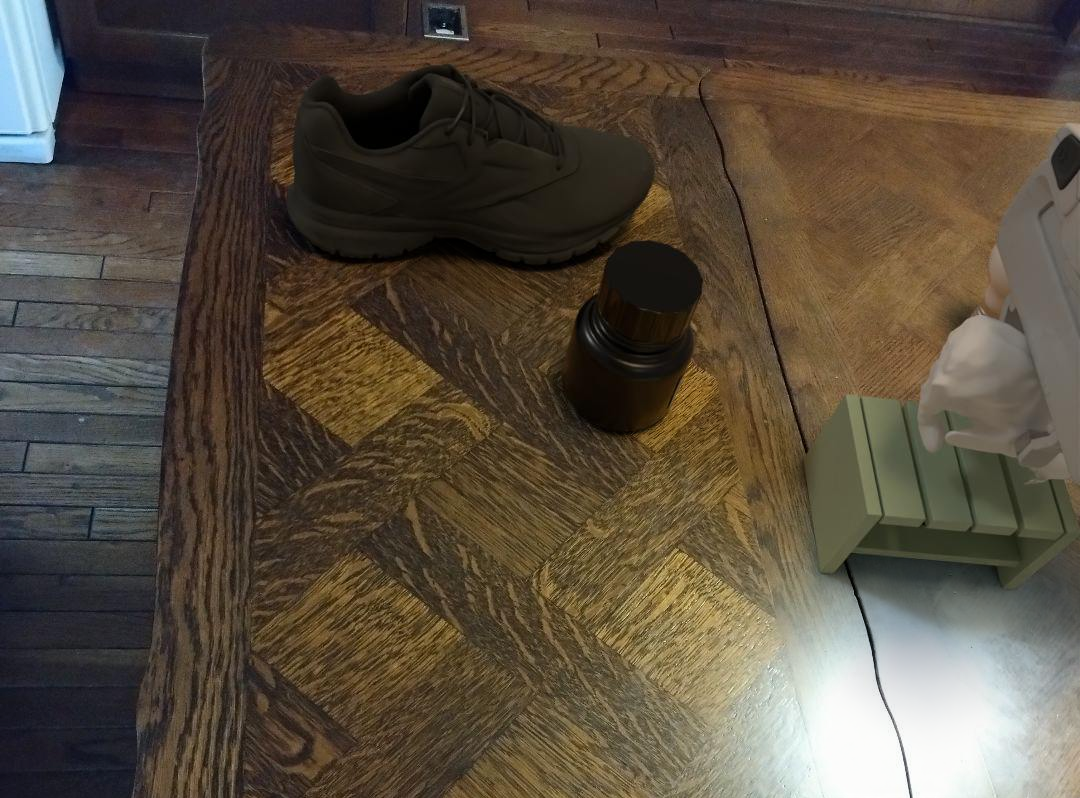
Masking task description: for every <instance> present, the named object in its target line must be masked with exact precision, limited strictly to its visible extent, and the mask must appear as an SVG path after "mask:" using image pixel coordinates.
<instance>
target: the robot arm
mask: <svg viewBox="0 0 1080 798" xmlns="http://www.w3.org/2000/svg"><path fill="white" fill-rule="evenodd" d="M1046 155H1047V158H1045V159H1043V160H1042V161H1041V162H1040V163H1038V164H1037V165H1036V166H1035V168H1034V169H1033V170H1032V172H1031V173H1030V174H1029V175H1028V177H1027V178H1026V180H1025V181H1024V182H1023V184H1022V185H1021V187H1020V188H1019V190H1018V191H1017V193H1015V195H1014V197H1013V198H1012V200H1011V202H1010V203H1009V205H1008V206H1007V208H1006V210H1005V211H1004V212H1003V214H1002V217H1001V218H1000V220H999V221H1000V222H999V225H998V229H997V233H996V238H995V243H996V246H997V249H998V252H999V254H1000V258H1001V261H1002V264H1003V267H1004V270H1005V273H1006V276H1007V280H1008V283H1009V286H1010V289H1011V291H1010V293H1009V294H1008V295H1007V296H1006V298H1005V301H1004V305H1003V308H1002V312H1001V315H1000V319H999V321H1002V322H1004V323H1007V324H1009V325H1010V326H1012V327H1014V328H1015V329H1017V330H1018V331H1020V332H1021V333H1023V334H1024V335H1025V336H1026V339H1027V342H1028V346H1029V349H1030V352H1031V355H1032V358H1033V361H1034V364H1035V368H1036V371H1037V374H1038V377H1039V380H1040V383H1041V386H1042V390H1043V393H1044V396H1045V399H1046V402H1047V405H1048V408H1049V412H1050V415H1051V418H1052V422H1051V423H1050V424H1049V425H1048V427H1047V430H1048V432H1047V431H1044V432H1042V433H1041V432H1039V431H1037V430H1026V431H1025V432H1024V433H1023V434H1022V435H1021V437H1020V440H1017V441H1016V442H1015V443H1014V447H1015V451H1016V454H1017V458H1018V462H1019V465H1021V466H1023V467H1033V468H1041V467H1044V466H1046V465H1047V464H1049V463H1050V462H1051V461H1052V460H1053V459H1054V458H1055V457H1056V456H1057V455H1058V454H1059V453H1063V455H1064V459H1065V462H1066V465H1067V468H1068V472H1069V475H1070V477H1071V479H1070V480H1071V481H1072V483H1073V484H1075V485H1076V486H1079V487H1080V123H1079V122H1066V123H1064V124H1063V125H1061V127H1060V128H1059V129H1058V130H1057V131H1056V133H1055V135H1054V137H1053V138H1052V139H1051V141H1050V143H1049V145H1048V148H1047V151H1046Z"/></svg>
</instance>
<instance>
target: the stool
mask: <svg viewBox="0 0 1080 798" xmlns="http://www.w3.org/2000/svg"><path fill="white" fill-rule="evenodd" d="M919 402H920V401H915V400H905V402H904V403H903V404H902V405H901V402H900V399H894V398H886V397H877V396H869V395H868V396H867V395H861V397H860V395H859V394H850V393H845V394H844V396H843V397H842V399H841V400H840V402H839V404H838V405H837V407H836V408H835V410H834V411H833V413H832V414H831V416H830V417H829V419H828V421H827V422H826V424H825V425H824V427H823V428H822V429H821V431H820V433H819V434H818V436H817V437H816V438H815V440H814V441H813V442H812V445H811V446H810V448H809V449H808V451H807V453H806V454H805V456H803V460H802V461H803V467H804V474H805V481H806V487H807V488H806V489H807V494H808V500H809V506H810V512H811V513H810V514H811V520H812V527H813V533H814V538H815V546H816V552H817V553H816V554H817V559H818V566H819V573H821V574H835V572H836V571H837V570H838V569H839V567H841V565H842V564H843V563H844V562H845V561H846V559H847V558H848V557H849V556H850V555H851V554H861V555H862V554H863V555H873V556H885V557H896V558H907V559H919V560H930V561H941V562H952V563H963V564H976V565H987V566H996V571H997V574H998V578H999V581H1000V585H1001V589H1007V590H1016V589H1017V588H1018V587H1019V586H1020V585H1022V584H1023V583H1024V582H1025V581H1026V580H1028V579H1029V578H1030V577H1032V575H1034V574H1035V573H1036V572H1037V571H1039V570H1040V569H1041V568H1042V567H1044V566H1045V565H1046V564H1048V562H1050V561H1051V560H1052V559H1053V558H1055V557H1056V556H1057V555H1058V554H1059V553H1060V552H1062V551H1063V550H1064V549H1065V548H1066V547H1068V546H1069V545H1070V544H1072V542H1074V541H1075V540H1076V539H1077V538H1079V537H1080V526H1079V523H1078V520H1077V517H1076V513H1075V510H1074V507H1073V504H1072V501H1071V498H1070V497H1071V496H1070V495H1069V491H1068V488H1067V485H1066V482H1065V480H1064V479H1048V480H1047V481H1044V482H1040V483H1036V482H1037V481H1036V482H1033V483H1035V484H1033V483H1029V484H1025V483H1027V482H1030V481H1029V480H1033V479H1031V478H1037V477H1036V476H1035V473H1034V472H1033V471H1031V470H1030V469H1029V468H1028V467H1023V466H1021V465H1019V462H1018V458H1015V457H1009V456H1006V455H1004V454H1001V453H990V452H984V451H978V450H972V449H967V448H962V447H957V446H953V445H950V444H948V443H947V442H946V441H945V437H944V441H943V444H942V446H941V448H940V450H939V451H938V452H936V453H930V452H928V451H927V450H926V448H925V446H924V445H923V442H922V438H921V435H920V432H919V426H918V418H917V415H918V407H919ZM940 415H941V418H942V420H943V422H944V425H945V429H946V433H945V436H946V434H947V433H948V432H950V431H954V430H961V429H965V428H970V427H972V426H973V425H972V424H971V423H970V422H969V421H968V417H965V416H961V415H959V414H958V413H955V412H950V411H947V410H943V411H942V412H940ZM923 523H924V524H925V525H923Z"/></svg>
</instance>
